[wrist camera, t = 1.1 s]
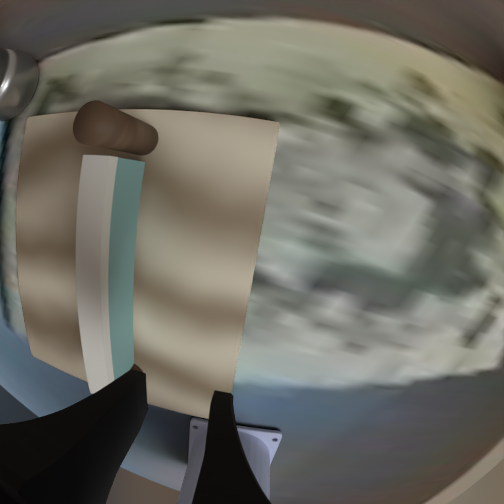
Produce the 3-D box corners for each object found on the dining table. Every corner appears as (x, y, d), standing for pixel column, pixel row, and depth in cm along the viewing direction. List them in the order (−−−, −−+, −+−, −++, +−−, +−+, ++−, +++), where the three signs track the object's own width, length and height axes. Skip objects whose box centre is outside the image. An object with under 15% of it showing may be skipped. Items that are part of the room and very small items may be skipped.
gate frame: (227, 414, 21) (215, 479, 14) (37, 351, 21) (-3, 385, 14) (279, 126, 16) (287, 87, 9) (35, 118, 16) (-25, 108, 9)
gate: (136, 363, 18) (111, 401, 14) (118, 357, 18) (90, 392, 14) (148, 162, 15) (109, 155, 11) (125, 160, 15) (83, 154, 11)
